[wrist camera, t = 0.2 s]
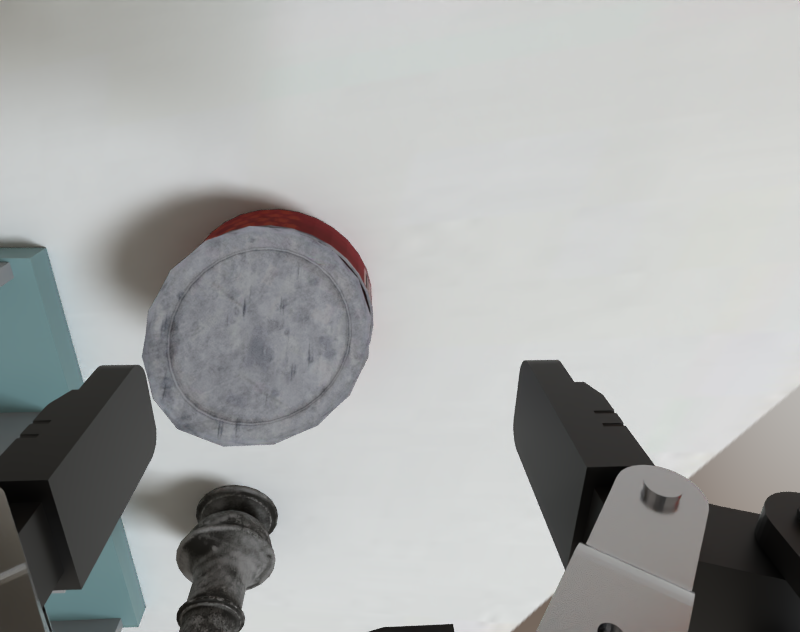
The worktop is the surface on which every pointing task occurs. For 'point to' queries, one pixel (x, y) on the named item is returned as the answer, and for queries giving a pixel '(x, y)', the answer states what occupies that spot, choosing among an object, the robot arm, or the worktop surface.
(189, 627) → the grey chess piece
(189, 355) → the canned food
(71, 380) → the rack
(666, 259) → the worktop surface
